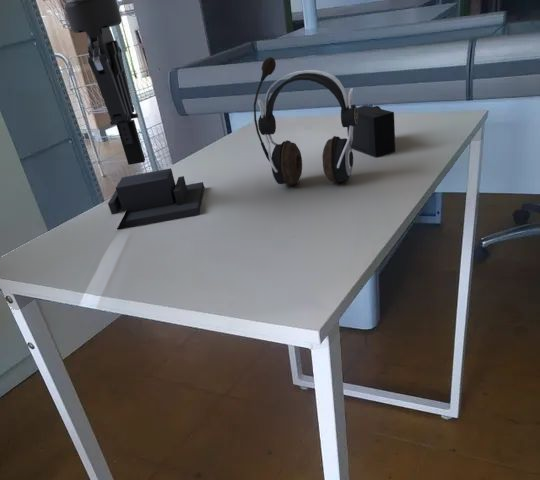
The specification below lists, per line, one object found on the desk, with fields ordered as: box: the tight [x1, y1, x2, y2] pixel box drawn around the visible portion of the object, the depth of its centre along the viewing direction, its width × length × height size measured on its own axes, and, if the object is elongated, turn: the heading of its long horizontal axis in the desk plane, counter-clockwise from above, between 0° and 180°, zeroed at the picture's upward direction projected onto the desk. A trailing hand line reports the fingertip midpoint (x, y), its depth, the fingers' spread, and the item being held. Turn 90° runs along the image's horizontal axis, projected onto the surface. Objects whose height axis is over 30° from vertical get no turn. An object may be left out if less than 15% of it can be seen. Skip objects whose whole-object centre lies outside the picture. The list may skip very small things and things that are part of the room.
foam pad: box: [115, 168, 176, 214], centre depth 96 cm, size 9×6×4 cm, turn 92°
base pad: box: [107, 175, 205, 230], centre depth 96 cm, size 18×14×4 cm
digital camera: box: [346, 105, 396, 158], centre depth 103 cm, size 10×5×7 cm, turn 22°
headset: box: [253, 56, 358, 188], centre depth 88 cm, size 17×8×20 cm, turn 71°
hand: (136, 162), depth 93 cm, fingers closed
